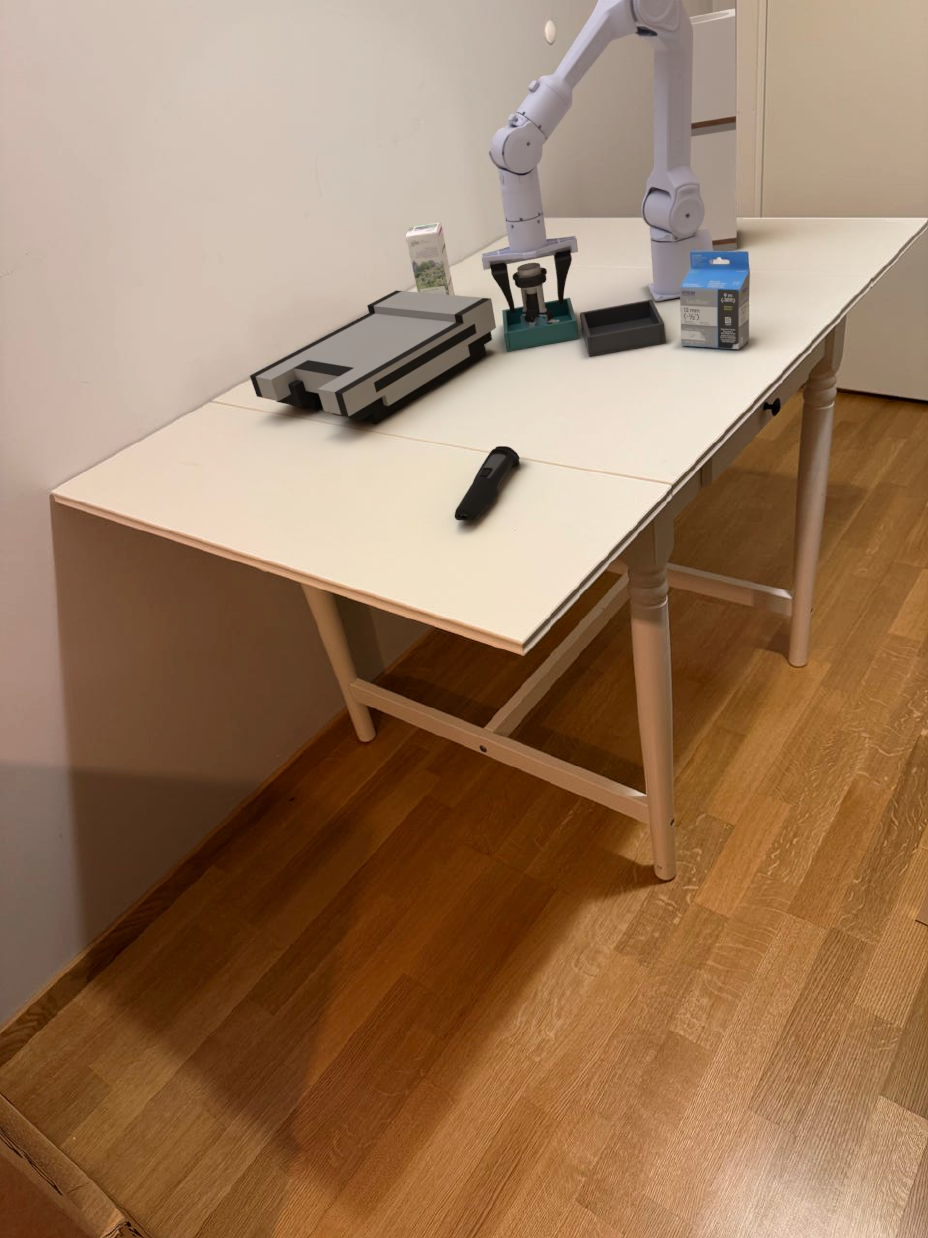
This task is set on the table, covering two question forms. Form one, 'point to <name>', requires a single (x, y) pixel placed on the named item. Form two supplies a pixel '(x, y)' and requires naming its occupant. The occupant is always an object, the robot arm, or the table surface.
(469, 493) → the electric trimmer
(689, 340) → the label tape box
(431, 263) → the syrup box
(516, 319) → the box
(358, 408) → the game console
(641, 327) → the right tote
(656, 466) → the table surface
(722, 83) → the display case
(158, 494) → the table surface
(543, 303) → the push button
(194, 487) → the table surface
